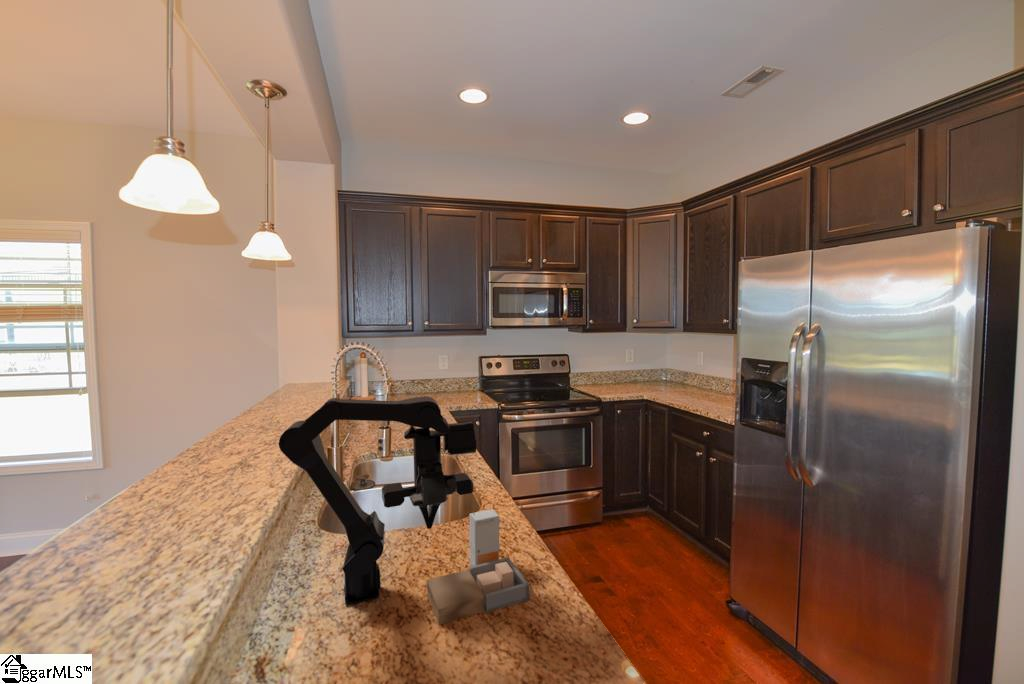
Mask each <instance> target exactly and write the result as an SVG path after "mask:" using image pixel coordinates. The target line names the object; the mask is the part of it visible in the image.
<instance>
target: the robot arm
mask: <svg viewBox="0 0 1024 684" xmlns="http://www.w3.org/2000/svg"><path fill="white" fill-rule="evenodd" d="M441 411H442V410H441V408H440V405H439V403H438V402H437V400H436V399H435V398H434V397H432V396H429V395H427V396H426V395H425V396H418V397H411V398H406V399H402V400H393V401H392V400H376V399H375V400H372V399H370V400H369V399H368V400H367V399H348V398H347V399H343V398H339V397H332V398H329V399H327V401H326V402H324V404H323V405H322V406H321V407H319V408H318V409H317V410H315V412H314V413H312V414H311V415H309V416H308V417H307V418H306V419H304V420H298V421H295V422H293V423H292V424H291V425H290V426H289V427H288V428H286V430H284V431H283V432H282V434H281V436H280V437H279V440H278V448H279V450H280V452H281V453H282V454H283V455H284V456H285V457H286V458H287V459H288V460H290V462H291V463H293V464H294V465H295V466H297V467H299V468H300V469H302V470H304V471H305V472H306V473H307V475H308V476H309V478H310V479H311V480H312V482H313V484H314V485H315V487H316V488H317V489H318V490H319V492H320V494H321V496H323V498H324V499H325V501H326V502H327V504H328V505H329V507H330V508H331V510H332V512H334V514H335V515H336V517H337V518H338V520H339V521H340V523H341V524H342V525H343V527H344V529H345V533H346V537H347V540H348V546H347V549H346V553H345V557H344V562H343V567H342V570H343V573H344V586H343V591H344V593H343V594H344V603H345V604H344V605H345V606H350V605H353V604H358V603H361V602H365V601H369V600H373V599H377V598H379V597H380V592H379V590H380V589H381V569H380V565H379V563H377V561H378V560H379V559H380V558H381V557H382V555H383V553H384V552H383V551H384V546H385V536H386V535H385V523H384V522H382V521H381V519H380V518H379V516H378V513H377V512H376V511H375V510H374V511H372V513H370V514H368V513H367V512H365V511H364V510H363V509H362V508H361V506H360V505H359V503H358V502H357V500H356V499H355V497H354V496H353V495H352V493H351V492H350V490H349V489H348V487H347V486H346V484H345V483H344V481H343V479H342V478H341V477H340V475H339V474H338V472H337V470H336V469H335V468H334V466H333V465H332V463H331V462H330V460H329V459H328V457H327V456H326V453H325V452H326V451H325V448H324V444H323V441H322V438H321V436H320V434H322V432H323V431H325V430H326V429H328V427H329V426H330V425H332V424H333V422H335V421H367V422H368V421H369V422H370V421H371V422H372V421H373V422H374V421H375V422H396V423H401V424H403V425H407V426H409V428H408V429H407V430H406V431H404V432H403V433H404V437H403V438H404V439H405V440H410V439H413V440H412V441H413V444H412V445H413V446H412V447H413V477H414V480H413V481H414V485H413V486H407V487H403V486H402V482H397V483H396V482H395V483H390V484H384V485H383V486H382V487H381V499H382V502H383V506H384V507H383V508H395V507H400V506H402V505H403V504H404V502H405V498H409V500H410V502H411V504H412V506H413V507H418V508H419V510H420V512H421V515H422V518H423V520H424V525H425V526H426V528H427V530H430V529H432V527H433V524H434V521H435V518H436V515H437V513H438V511H439V508H440V506H441V505H442V504H443V503H445V502H447V501H448V499H449V498H448V495H453V494H454V493H457V494H458V495H460V496H463V495H470V494H473V493H474V482H473V480H472V479H471V478H470V477H469V475H468V474H467V473H465V472H462V473H456V474H455V473H453V474H449V475H447V474H444V472H443V466H442V464H443V463H442V449H441V448H442V446H441V445H442V444H443V451H444V452H445V451H447V453H448V455H449V456H455V455H457V456H458V455H466V454H467V455H468V454H476V453H477V439H476V433H475V428H474V427H475V426H474V425H475V424H474V422H473V421H471V420H470V421H464V422H456V423H448V420H447V418H445V417H444V416H443V415H442V412H441ZM430 429H432V430H430ZM441 437H442V440H441ZM441 441H442V443H441Z"/></svg>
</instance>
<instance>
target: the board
mask: <svg viewBox="0 0 1024 684" xmlns="http://www.w3.org/2000/svg"><path fill="white" fill-rule="evenodd" d="M426 594H427V597H428V599H429V602H430V605H431V608H432V611H433V614H434V616H435V618H436V619H435V620H436V621H437V625H438V626H439V625H443V624H447V623H450V622H454V621H457V620H461V619H465V618H468V617H471V616H473V615H478V614H481V613H483V612H485V609H484V596H483V594H482V592H481V590H480V589H479V587H478V585H477V583H476V582H475V580H474V578H473V576H472V575H471V573H470V571H469V568H468V569H465V570H464V569H463V570H461V571H457V572H456V571H455V572H452V573H449V574H444V575H441V576H437V577H432V578H428V579H426ZM477 613H478V614H477Z"/></svg>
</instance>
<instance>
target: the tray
mask: <svg viewBox="0 0 1024 684" xmlns="http://www.w3.org/2000/svg"><path fill="white" fill-rule="evenodd" d="M502 562H507V563H508V565H509V566H510V568H511V569H512V570H513V583H514V586H513V587H509V588H506V589H502V590H499V591H495V592H491V593H488V594H485V598H484V612H486V613H490V611H491V612H493V611H497V610H500V608H501V609H504V608H507V607H511V606H514V605H518V604H520V603H523V602H527V601H530V583H529V582H528V581H527V580H526V578H525V577H524V576H523V575H522V573H521V571H520V570H519V569H518V568H517V566H516V565H515V564H514V563H513V562H512V560H511V559H510V558H509V557H504V558H499V560H495V561H491V562H487V563H483V564H479V565H475V566H472V565H471V566H469V567H468V569H469V571H470V573H471V575H472V576H473V578H474V580H475V582H476V583H477V575H479V574H483V573H487V572H491V571H495V564H498V563H502Z"/></svg>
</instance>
